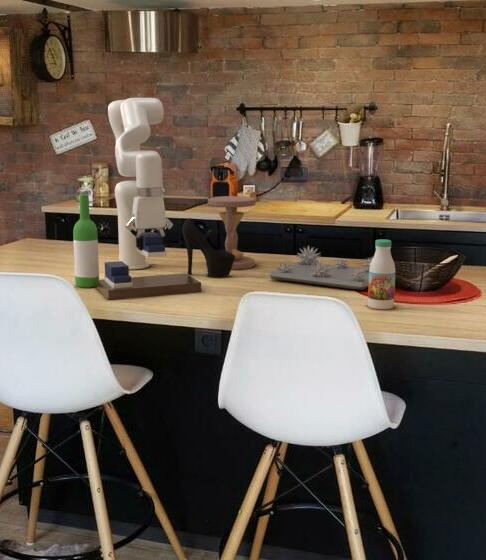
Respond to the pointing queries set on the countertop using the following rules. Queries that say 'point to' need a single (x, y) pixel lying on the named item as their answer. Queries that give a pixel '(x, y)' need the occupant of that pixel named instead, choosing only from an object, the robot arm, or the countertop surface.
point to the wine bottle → (85, 247)
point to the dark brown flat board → (152, 286)
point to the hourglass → (233, 226)
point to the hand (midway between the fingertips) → (149, 248)
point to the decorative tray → (323, 272)
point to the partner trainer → (117, 275)
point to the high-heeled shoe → (207, 250)
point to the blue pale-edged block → (152, 245)
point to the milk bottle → (381, 277)
